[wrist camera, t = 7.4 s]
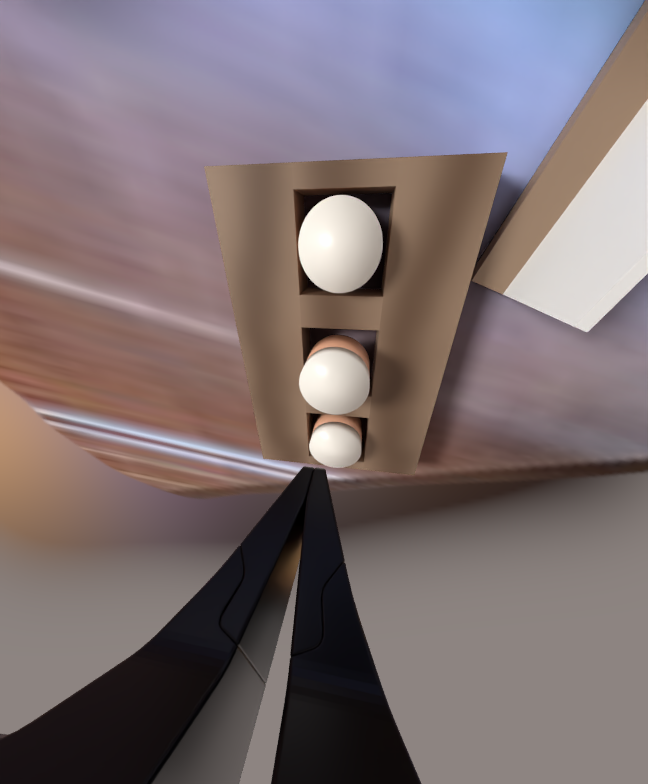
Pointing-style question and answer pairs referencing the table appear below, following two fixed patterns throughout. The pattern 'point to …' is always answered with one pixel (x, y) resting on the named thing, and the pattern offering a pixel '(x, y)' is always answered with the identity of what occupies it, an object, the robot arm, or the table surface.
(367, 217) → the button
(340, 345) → the middle button
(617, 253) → the card
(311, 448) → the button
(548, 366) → the table surface
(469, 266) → the button board
